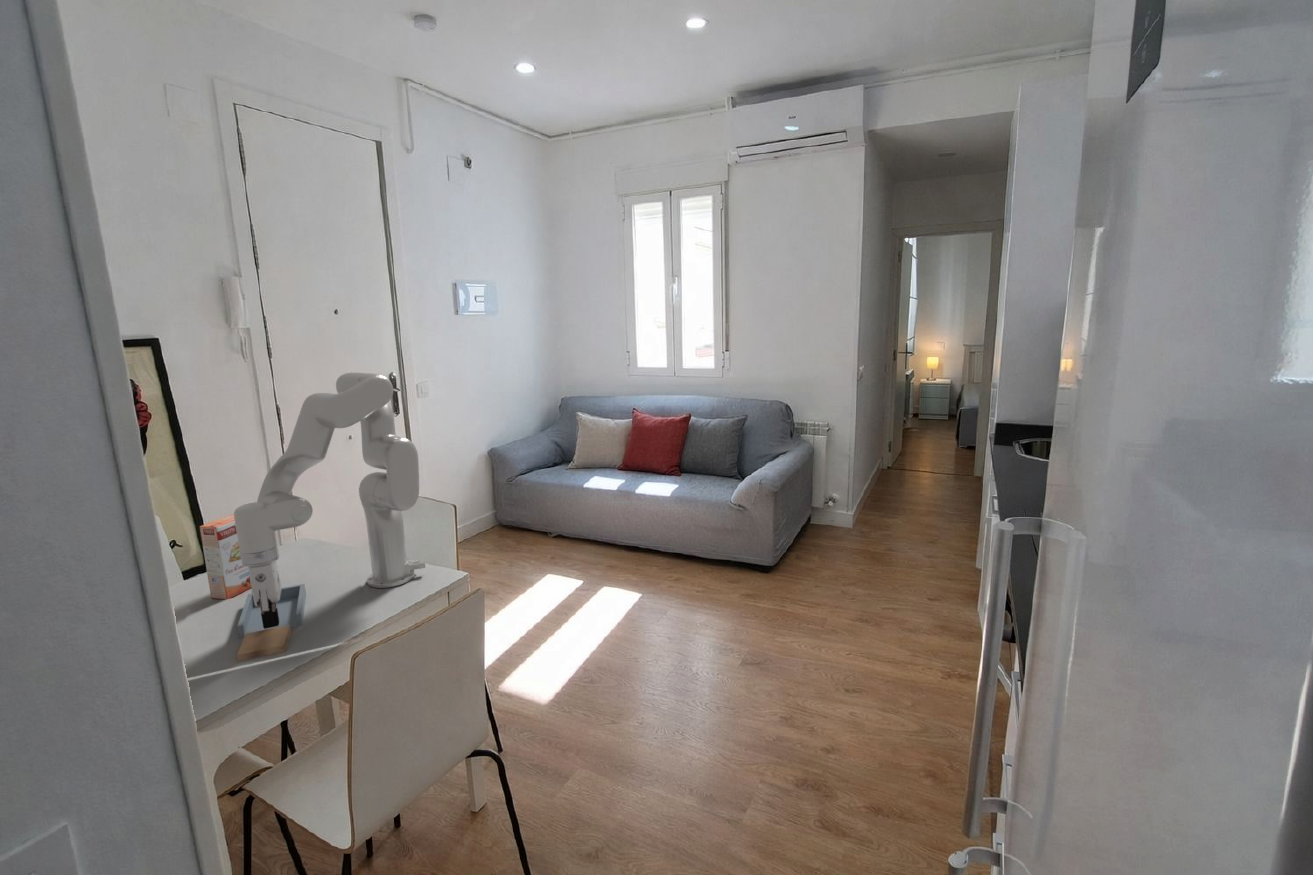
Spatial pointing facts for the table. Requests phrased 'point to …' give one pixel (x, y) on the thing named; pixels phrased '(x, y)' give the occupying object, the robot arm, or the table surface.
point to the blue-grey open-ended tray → (287, 609)
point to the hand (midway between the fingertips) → (271, 625)
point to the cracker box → (224, 559)
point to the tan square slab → (264, 642)
